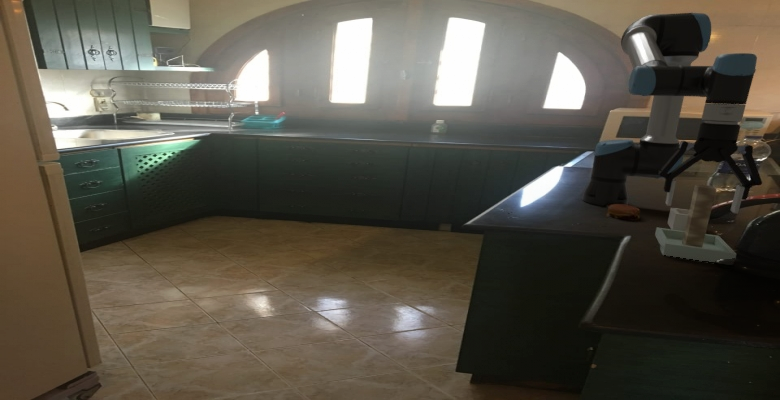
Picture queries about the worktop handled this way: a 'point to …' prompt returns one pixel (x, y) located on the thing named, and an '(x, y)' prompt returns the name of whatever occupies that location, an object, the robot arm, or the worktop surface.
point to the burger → (623, 212)
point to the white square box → (678, 219)
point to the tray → (709, 252)
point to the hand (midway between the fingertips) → (700, 208)
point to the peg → (699, 215)
